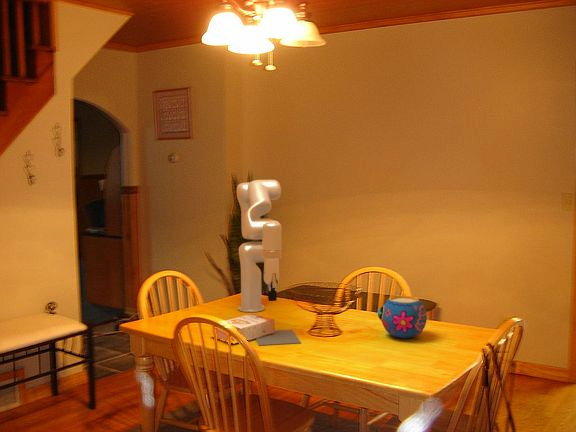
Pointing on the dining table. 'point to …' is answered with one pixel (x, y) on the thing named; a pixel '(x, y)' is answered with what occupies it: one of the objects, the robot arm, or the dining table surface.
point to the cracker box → (249, 327)
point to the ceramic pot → (403, 316)
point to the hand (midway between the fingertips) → (272, 300)
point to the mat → (278, 338)
